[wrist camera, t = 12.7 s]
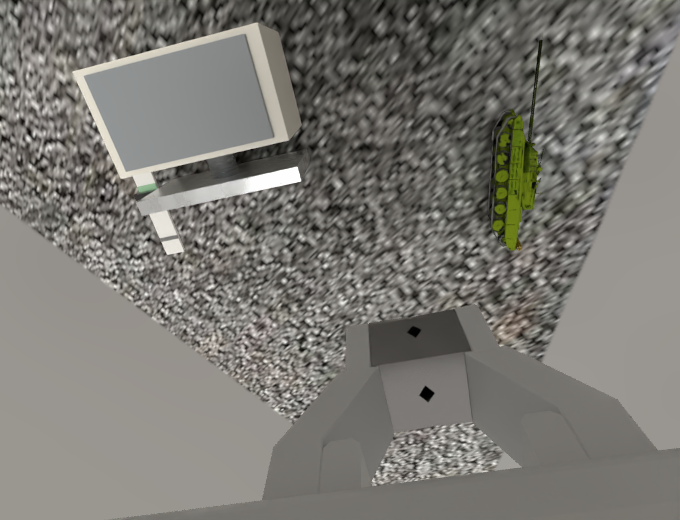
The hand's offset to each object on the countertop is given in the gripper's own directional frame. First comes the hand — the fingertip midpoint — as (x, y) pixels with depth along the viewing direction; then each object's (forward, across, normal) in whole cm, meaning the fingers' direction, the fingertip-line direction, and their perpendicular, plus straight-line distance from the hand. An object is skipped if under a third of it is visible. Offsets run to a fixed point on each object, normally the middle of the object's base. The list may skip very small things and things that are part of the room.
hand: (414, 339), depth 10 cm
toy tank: (+34, -14, +4) cm, 37 cm away
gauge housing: (+33, +15, -1) cm, 36 cm away
